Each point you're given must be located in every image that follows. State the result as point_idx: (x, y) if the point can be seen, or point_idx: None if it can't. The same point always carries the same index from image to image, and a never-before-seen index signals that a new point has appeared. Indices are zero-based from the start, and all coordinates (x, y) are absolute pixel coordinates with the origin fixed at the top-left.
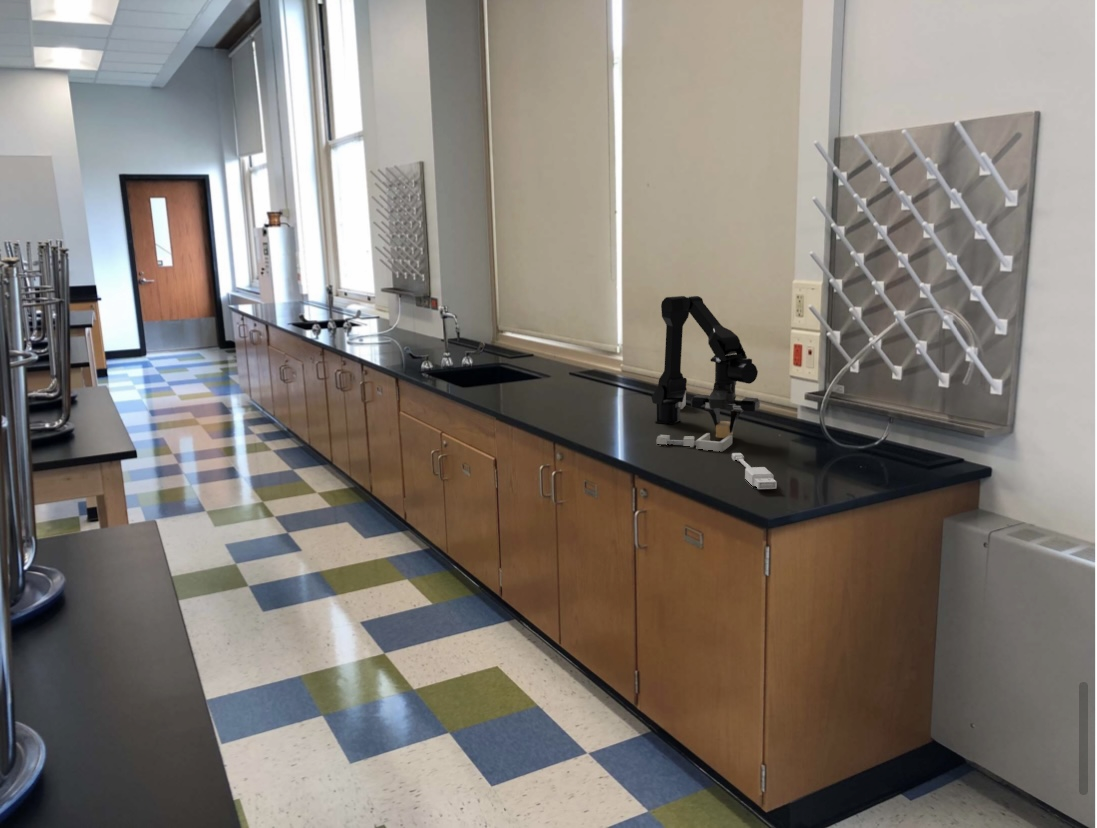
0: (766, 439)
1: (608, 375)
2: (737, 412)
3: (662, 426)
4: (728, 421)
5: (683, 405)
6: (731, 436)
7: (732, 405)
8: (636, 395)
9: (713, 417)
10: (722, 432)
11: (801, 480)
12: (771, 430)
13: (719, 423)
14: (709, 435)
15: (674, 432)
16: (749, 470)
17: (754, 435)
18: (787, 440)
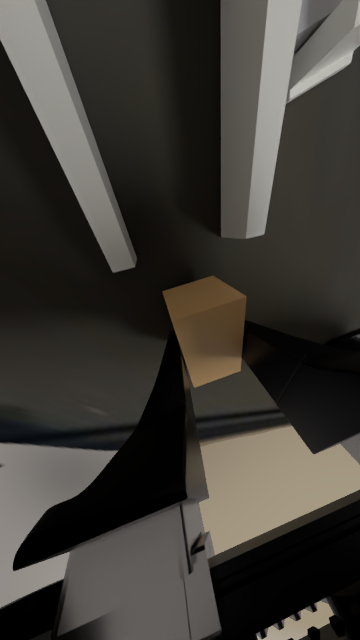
0: (82, 377)
1: None
2: (59, 519)
3: (353, 318)
4: (212, 380)
5: None
6: (103, 250)
7: (229, 584)
8: None
9: (298, 343)
10: (192, 292)
11: None
12: (140, 416)
13: (237, 340)
14: (240, 226)
15: (338, 288)
16: None
17: (141, 381)
18: (27, 401)
